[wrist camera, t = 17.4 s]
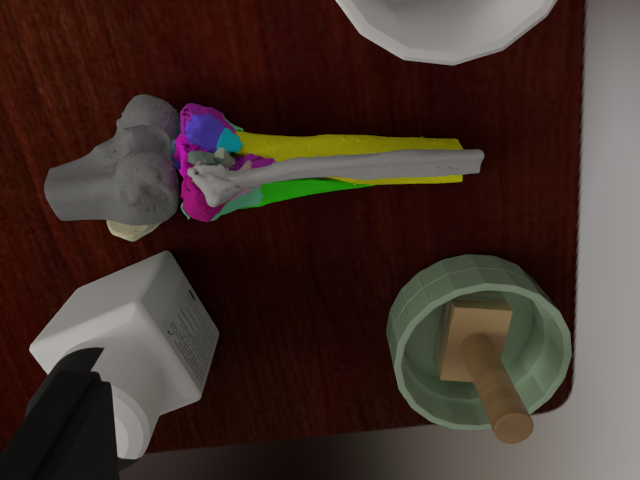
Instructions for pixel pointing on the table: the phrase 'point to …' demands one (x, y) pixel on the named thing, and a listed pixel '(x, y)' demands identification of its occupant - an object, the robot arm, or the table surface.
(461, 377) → the wooden stamp
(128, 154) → the knee model
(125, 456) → the container
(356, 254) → the table surface
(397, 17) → the cup
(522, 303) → the bowl
